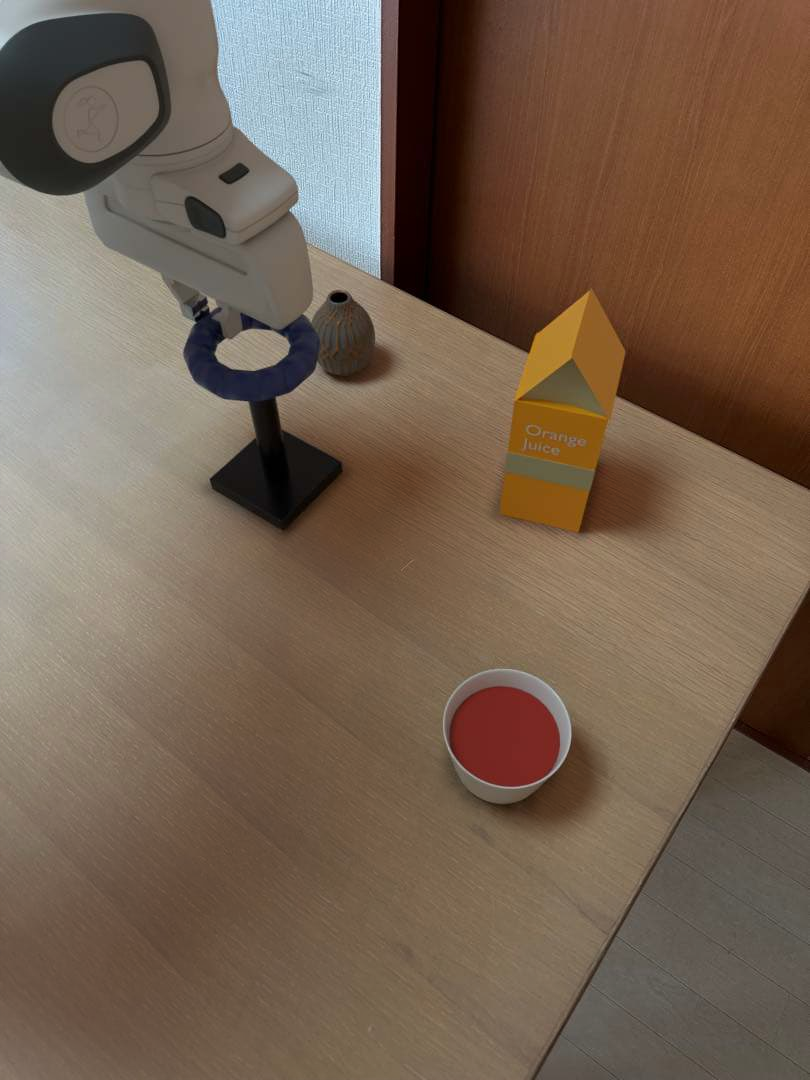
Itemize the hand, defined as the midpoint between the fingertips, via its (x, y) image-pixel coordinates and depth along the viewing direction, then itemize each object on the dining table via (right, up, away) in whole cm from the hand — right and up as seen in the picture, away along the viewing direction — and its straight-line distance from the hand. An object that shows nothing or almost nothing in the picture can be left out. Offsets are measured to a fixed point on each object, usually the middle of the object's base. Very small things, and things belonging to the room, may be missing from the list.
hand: (213, 324), depth 69 cm
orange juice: (+30, -13, +11) cm, 34 cm away
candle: (+23, -35, -5) cm, 42 cm away
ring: (+3, -2, -1) cm, 4 cm away
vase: (+9, +1, +22) cm, 24 cm away
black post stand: (+3, -12, +12) cm, 17 cm away
